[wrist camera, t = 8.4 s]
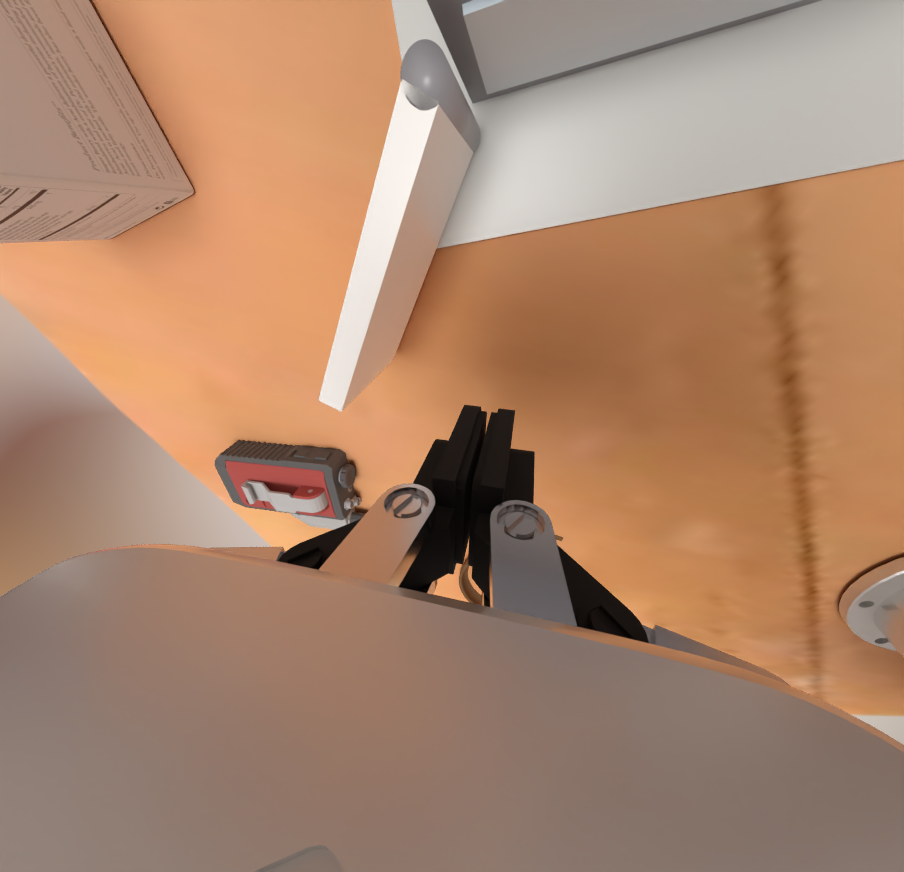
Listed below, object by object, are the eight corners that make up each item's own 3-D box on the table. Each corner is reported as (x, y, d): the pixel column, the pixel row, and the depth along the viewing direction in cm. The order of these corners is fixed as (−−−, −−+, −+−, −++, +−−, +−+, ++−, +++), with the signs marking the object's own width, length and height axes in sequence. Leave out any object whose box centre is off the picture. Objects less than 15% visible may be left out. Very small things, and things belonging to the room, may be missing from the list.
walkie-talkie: (255, 502, 36) (434, 526, 33) (224, 534, 32) (422, 564, 29) (224, 434, 31) (428, 453, 28) (184, 462, 28) (414, 487, 24)
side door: (394, 360, 22) (343, 412, 16) (376, 350, 22) (316, 399, 16) (485, 126, 15) (457, 56, 9) (459, 109, 15) (410, 27, 9)
